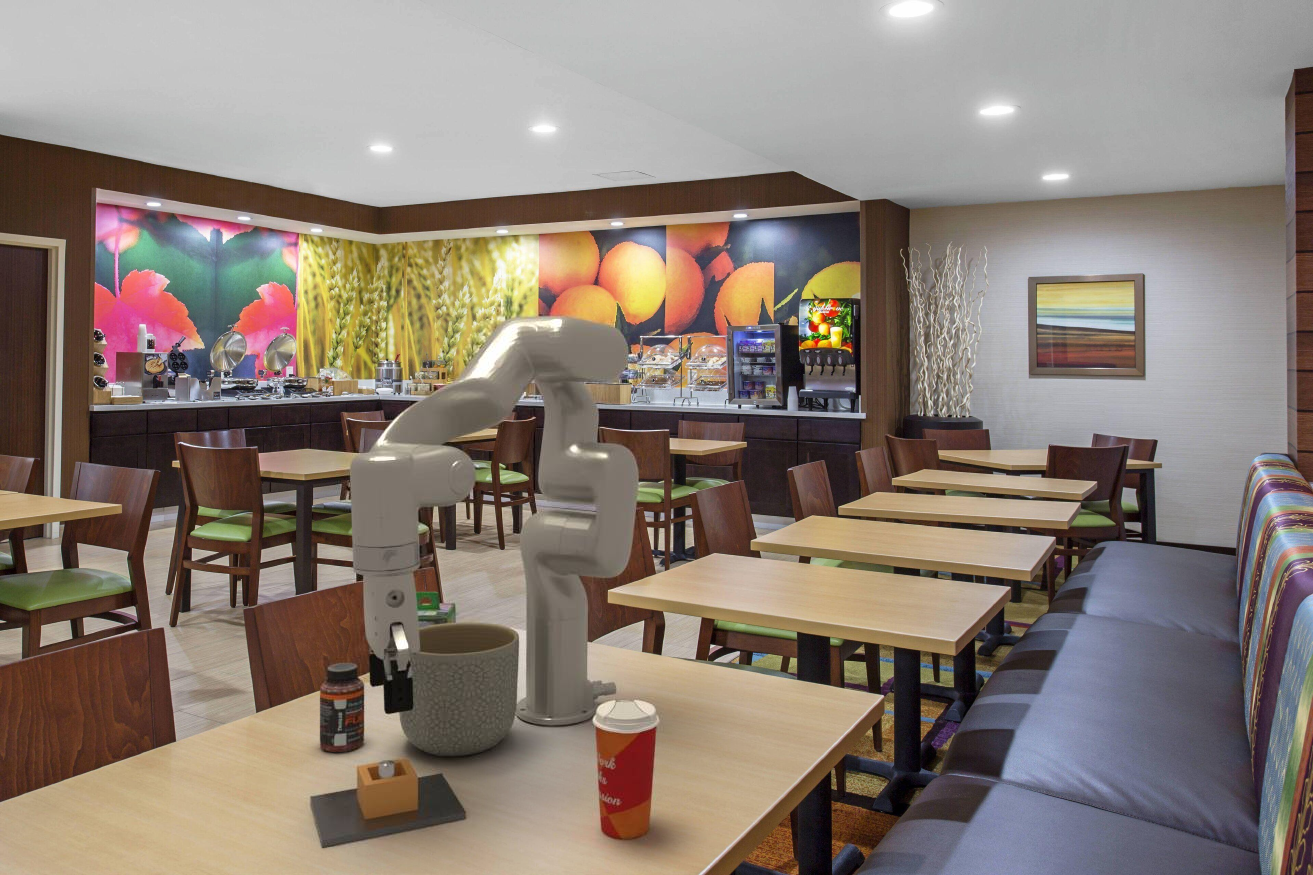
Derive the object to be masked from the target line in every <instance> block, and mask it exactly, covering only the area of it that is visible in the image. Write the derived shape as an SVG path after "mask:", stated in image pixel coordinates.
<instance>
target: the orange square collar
mask: <svg viewBox="0 0 1313 875" xmlns="http://www.w3.org/2000/svg"><path fill="white" fill-rule="evenodd" d="M392 761H394V764H395V777H391V778H385V779H379V763H380V762H381V761H380V762H374V763H368V764H362V765H357V766H356V788H357V799H358V802H359V804H360V807H361V810H362V812H363V815H364V818H365V819H371V818H376V817H381V816H386V815H391V814H397V813H402V812H407V811H412V810H418V777H419V776H418V775H417V772H416V770H415V769H414V767H413V765H412V763H411V762H410V760H409V758H408V757H405V758H397V759H392Z"/></svg>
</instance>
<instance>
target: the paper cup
mask: <svg viewBox="0 0 1313 875" xmlns="http://www.w3.org/2000/svg"><path fill="white" fill-rule="evenodd" d="M659 723H660V718H659V716H658V714H657V709H656V707H655V706H654V705H653V704H652V703H649V702H647V701H643V700H638V699H634V700H633V701H630V699H625V700H623V699H621V700H619V701H616V700H615V699H613V700H610V701H605V702H603V703H602V704H600V705H598V706H597V710H596V713H595V714H594V716H593V717H592V724H593V725H594V726H595V742H596V763H597V764H596V765H597V782H598V804H599V816H600V817H599V818H600V828H601V832H602V833H603V834H604V835H606V836H607V837H610V838H612V839H618V840H632V839H636V838H637V839H638V838H640V837H642V836H645V834H646V833H648V831H649V828H650V820H651V810H652V809H651V808H652V799H653V798H652V796H653V781H654V779H653V778H654V770H655V768H654V767H655V766H654V764H655V751H656V750H655V749H656V740H657V739H656V738H657V726H658V725H659Z"/></svg>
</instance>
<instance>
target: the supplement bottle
mask: <svg viewBox="0 0 1313 875" xmlns="http://www.w3.org/2000/svg"><path fill="white" fill-rule="evenodd" d="M326 669H327V670H326V671H327V673H326V676H327V679H325V681H324V682H323V683H322V684H321V686H320V688H319V689H320V690H319V746H320V748H321V749H323V750H325V751H326V752H333V753H345V752H348V751H349V752H350V751H353V750H356V749H358V748H359V747H361V746H362V745H363V744H364V741H365V684H364V682H363V680H362V679H360V677H359V676H358V665H357V664H356V663H351V662H341V663H335V664H331V665H329V666H328V667H327V668H326Z"/></svg>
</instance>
